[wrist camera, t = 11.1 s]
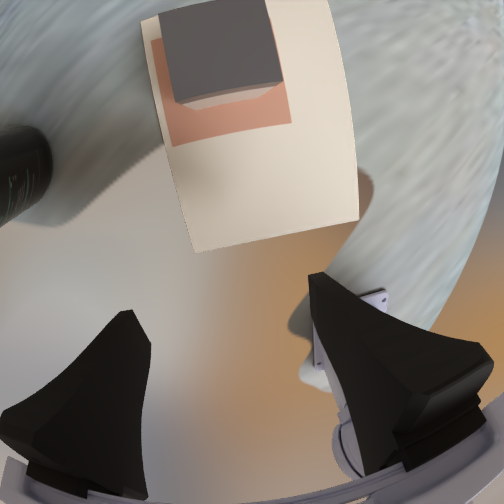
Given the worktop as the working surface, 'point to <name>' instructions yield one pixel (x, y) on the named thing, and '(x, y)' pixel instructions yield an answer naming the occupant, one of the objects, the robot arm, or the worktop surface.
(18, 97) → the worktop surface
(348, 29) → the worktop surface
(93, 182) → the worktop surface
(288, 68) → the paper sheet
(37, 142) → the supplement bottle
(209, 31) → the grey rectangular block
